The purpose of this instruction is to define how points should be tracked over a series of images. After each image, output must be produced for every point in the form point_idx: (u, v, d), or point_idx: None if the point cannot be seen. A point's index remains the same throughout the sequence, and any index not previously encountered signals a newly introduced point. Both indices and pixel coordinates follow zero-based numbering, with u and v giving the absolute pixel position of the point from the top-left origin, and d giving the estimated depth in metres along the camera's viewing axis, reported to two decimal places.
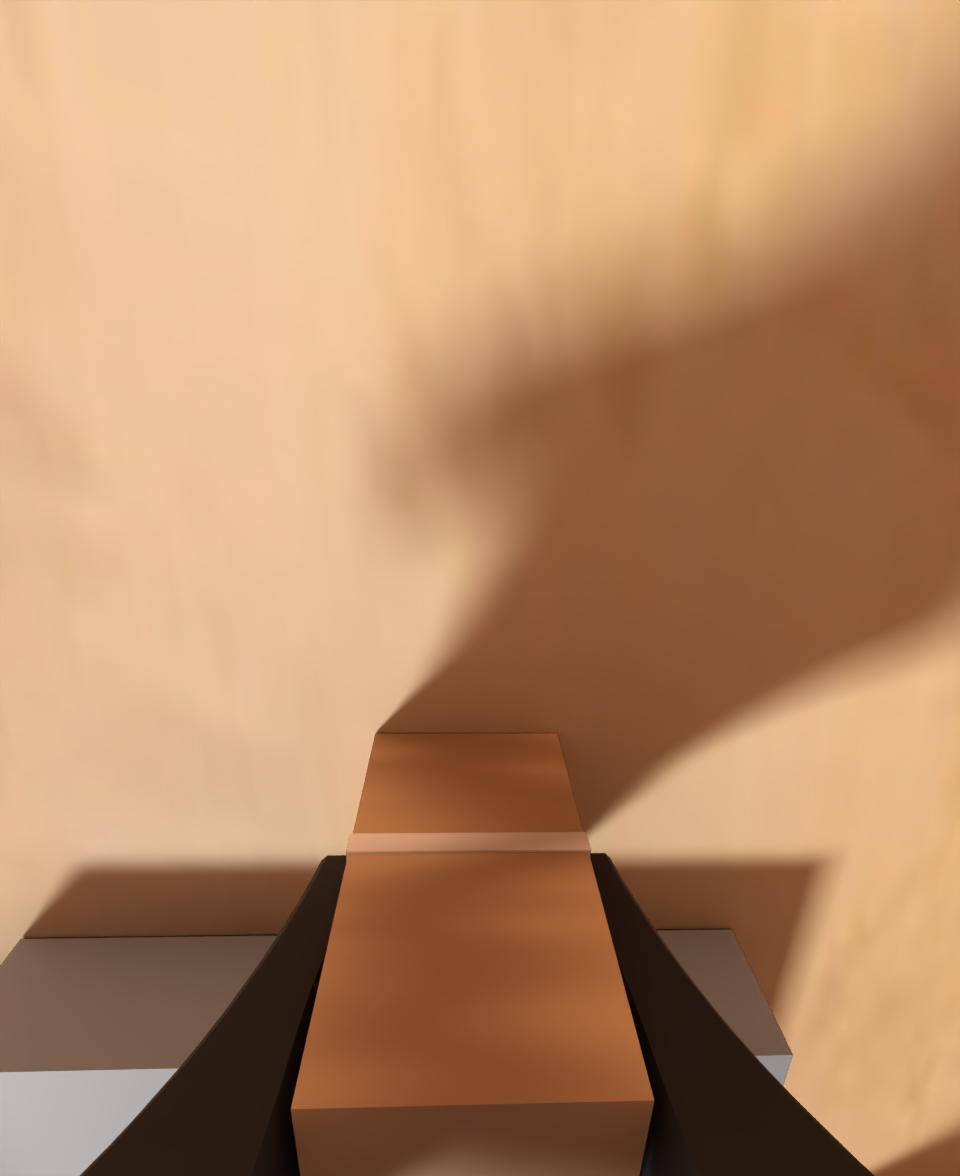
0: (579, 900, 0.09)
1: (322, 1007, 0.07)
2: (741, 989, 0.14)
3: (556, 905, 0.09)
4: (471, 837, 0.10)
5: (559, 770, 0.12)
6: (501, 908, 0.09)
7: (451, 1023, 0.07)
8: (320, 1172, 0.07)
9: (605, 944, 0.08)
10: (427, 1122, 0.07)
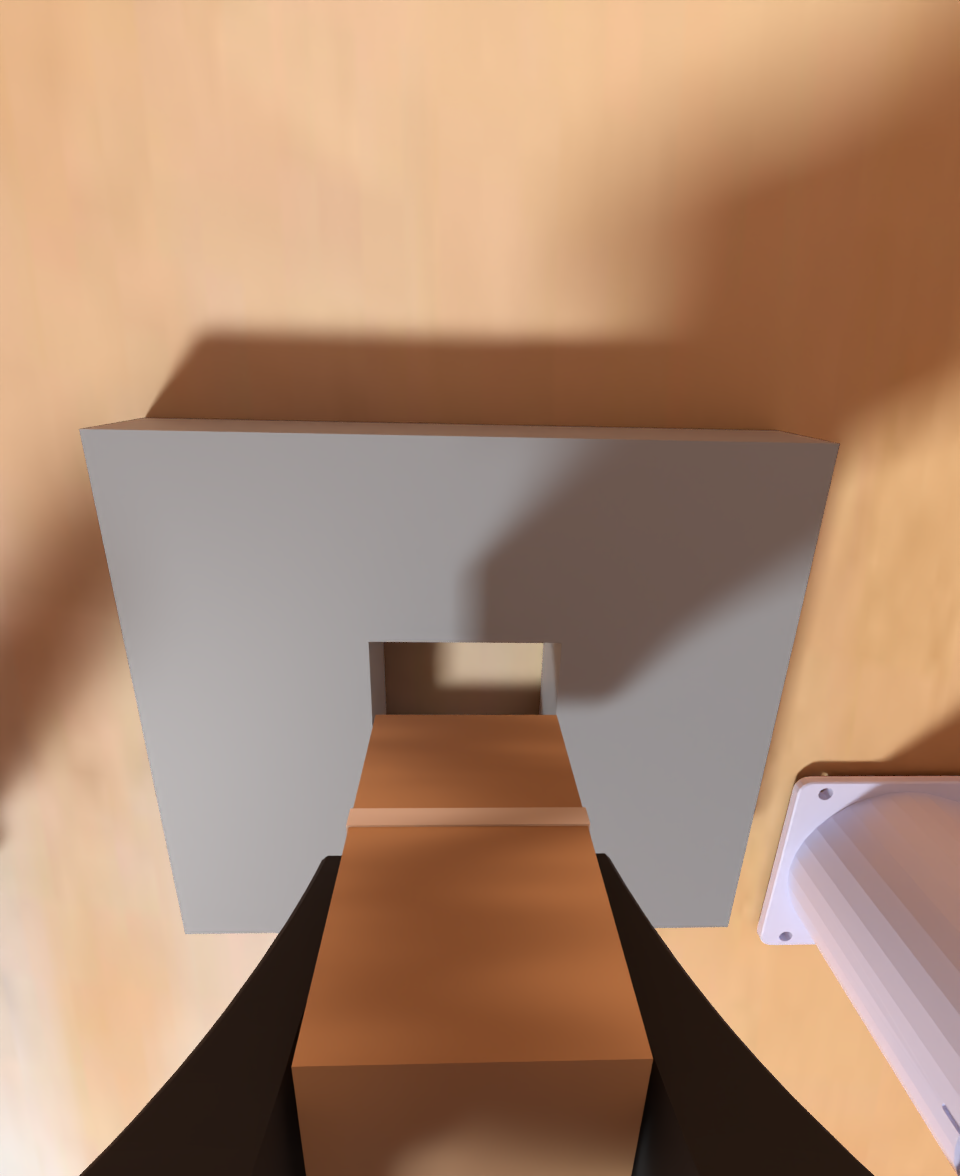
0: (578, 871, 0.09)
1: (322, 971, 0.08)
2: (790, 436, 0.16)
3: (555, 876, 0.09)
4: (471, 812, 0.10)
5: (559, 749, 0.12)
6: (501, 879, 0.09)
7: (450, 986, 0.07)
8: (320, 1132, 0.07)
9: (604, 913, 0.08)
10: (426, 1081, 0.07)
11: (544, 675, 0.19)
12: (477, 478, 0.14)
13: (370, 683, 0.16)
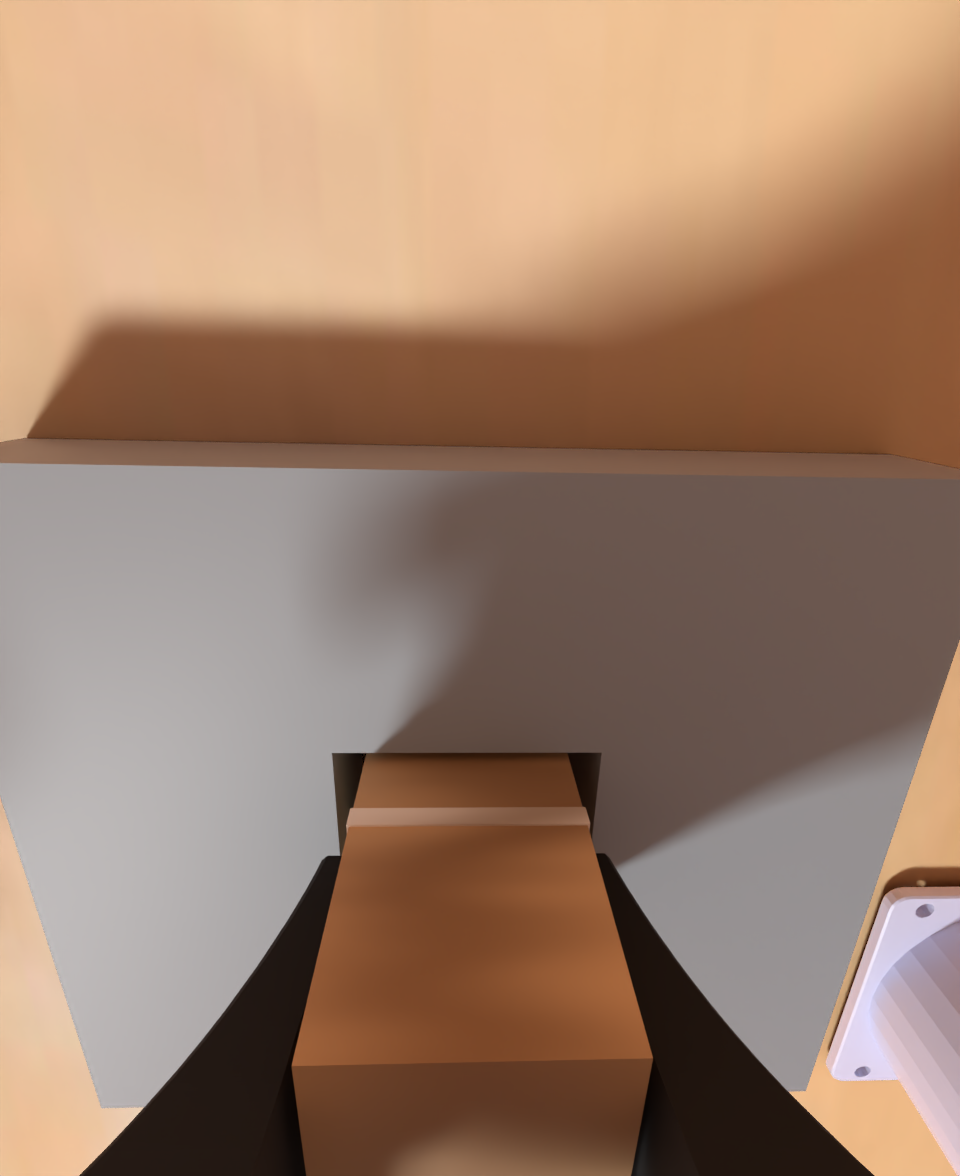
0: (578, 871, 0.09)
1: (322, 971, 0.08)
2: (923, 465, 0.11)
3: (555, 876, 0.09)
4: (471, 811, 0.10)
5: None
6: (501, 878, 0.09)
7: (451, 985, 0.07)
8: (320, 1132, 0.07)
9: (604, 912, 0.08)
10: (427, 1081, 0.07)
11: None
12: (486, 530, 0.10)
13: (336, 805, 0.12)
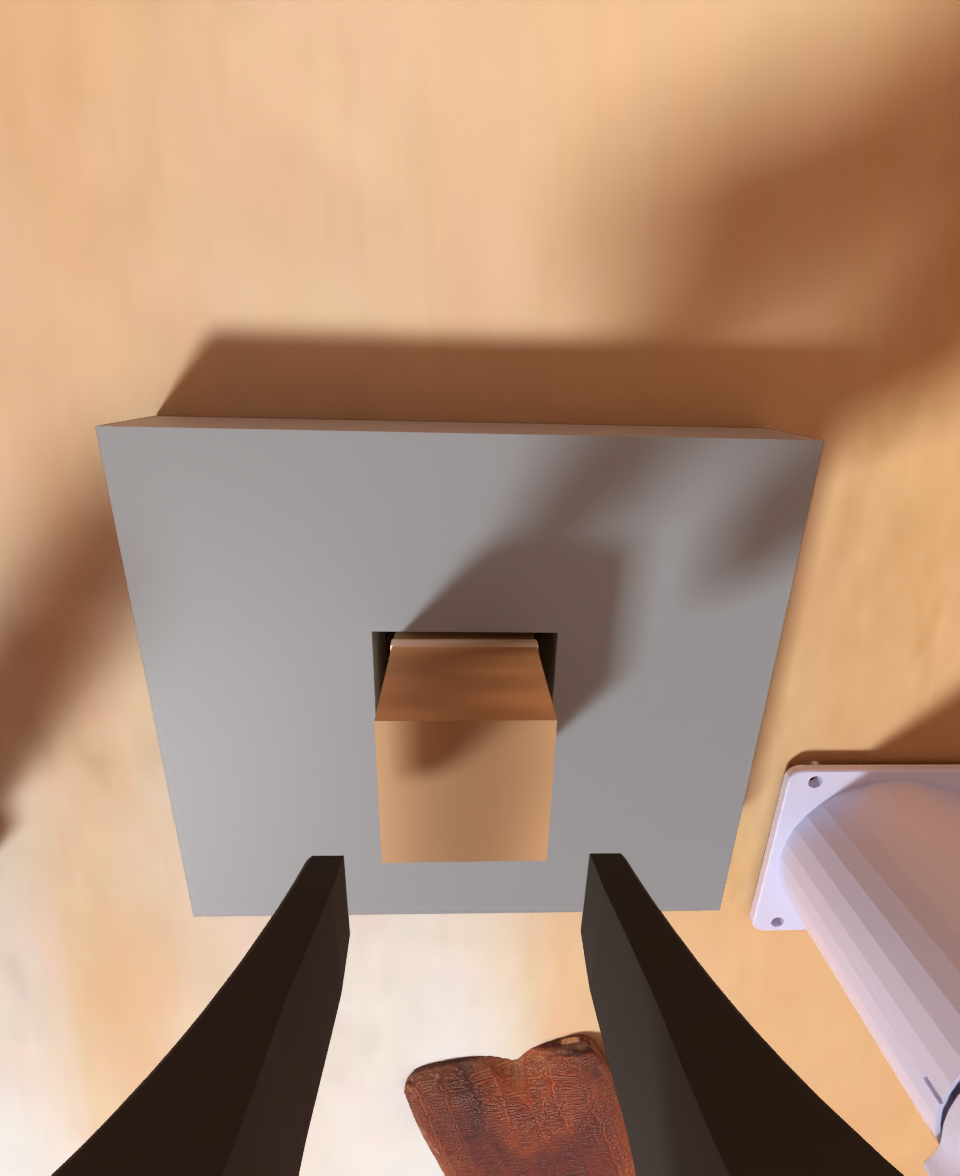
0: (528, 663, 0.15)
1: (385, 695, 0.14)
2: (777, 433, 0.16)
3: (515, 665, 0.15)
4: (466, 641, 0.17)
5: None
6: (483, 666, 0.15)
7: (454, 699, 0.14)
8: (387, 766, 0.13)
9: (541, 678, 0.15)
10: (442, 731, 0.13)
11: None
12: (476, 473, 0.15)
13: (373, 671, 0.17)
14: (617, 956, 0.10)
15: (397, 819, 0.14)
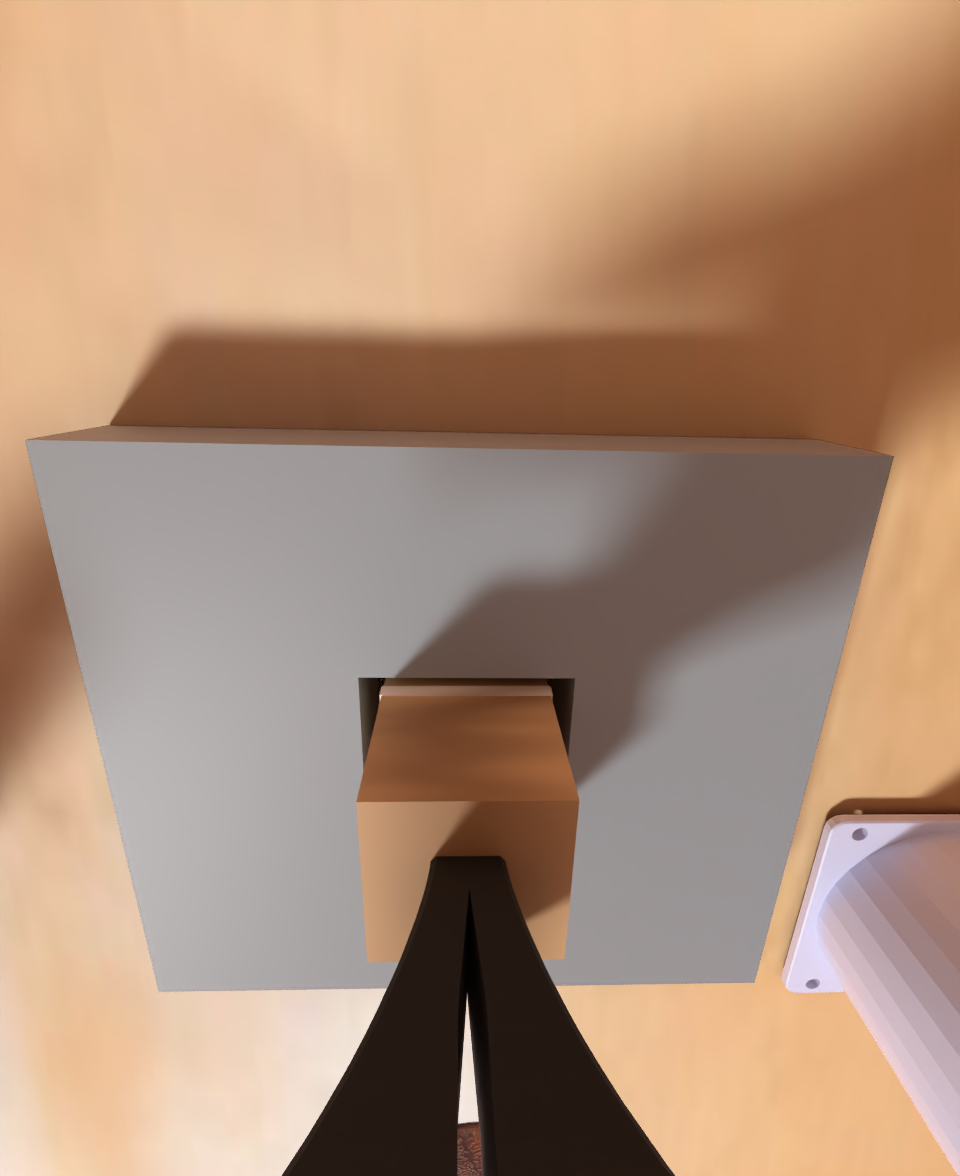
0: (542, 718, 0.13)
1: (370, 764, 0.12)
2: (832, 446, 0.14)
3: (525, 720, 0.13)
4: (467, 688, 0.14)
5: None
6: (488, 722, 0.13)
7: (454, 770, 0.11)
8: (372, 854, 0.11)
9: (557, 738, 0.12)
10: (439, 814, 0.11)
11: (554, 708, 0.17)
12: (481, 495, 0.13)
13: (360, 723, 0.15)
14: (474, 959, 0.09)
15: (385, 913, 0.12)
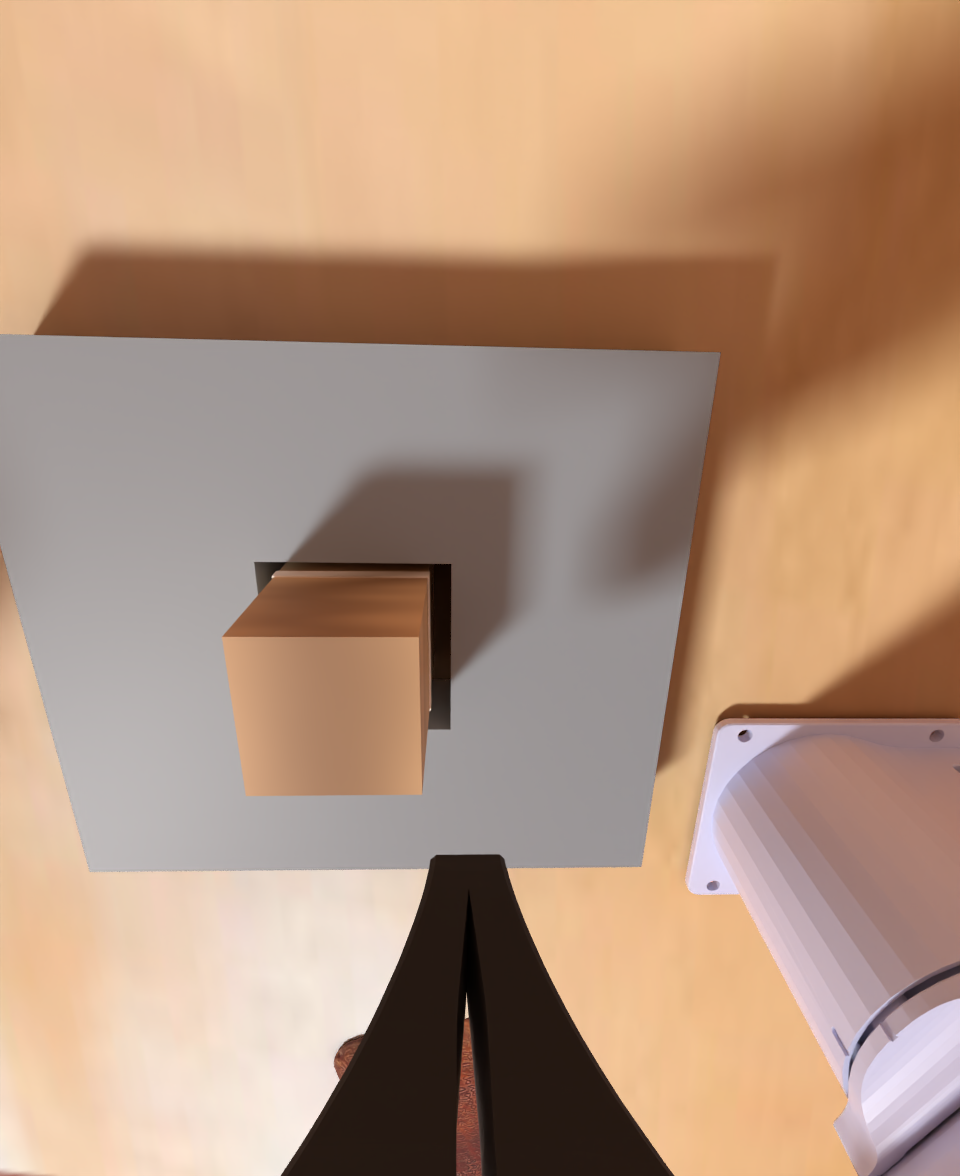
0: (411, 591, 0.15)
1: (245, 616, 0.13)
2: None
3: (396, 592, 0.15)
4: (354, 572, 0.16)
5: None
6: (362, 593, 0.15)
7: (317, 620, 0.13)
8: (241, 688, 0.13)
9: (419, 603, 0.14)
10: (296, 649, 0.12)
11: None
12: (353, 387, 0.14)
13: None
14: (473, 959, 0.09)
15: (257, 747, 0.13)
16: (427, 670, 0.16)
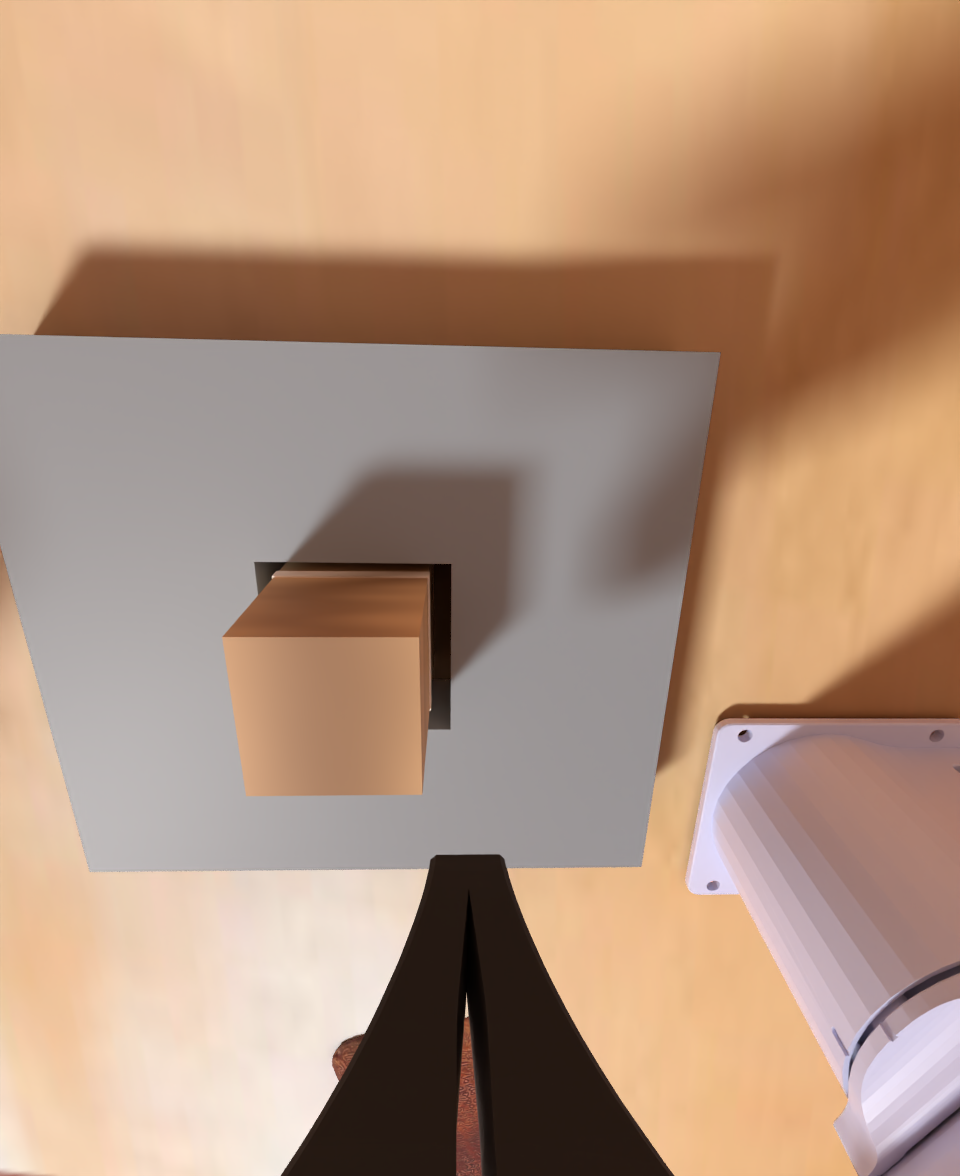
0: (411, 591, 0.15)
1: (245, 616, 0.13)
2: None
3: (396, 592, 0.15)
4: (354, 572, 0.16)
5: None
6: (362, 593, 0.15)
7: (317, 620, 0.13)
8: (241, 689, 0.13)
9: (419, 603, 0.14)
10: (296, 649, 0.12)
11: None
12: (353, 387, 0.14)
13: None
14: (473, 959, 0.09)
15: (257, 747, 0.13)
16: (427, 670, 0.16)
